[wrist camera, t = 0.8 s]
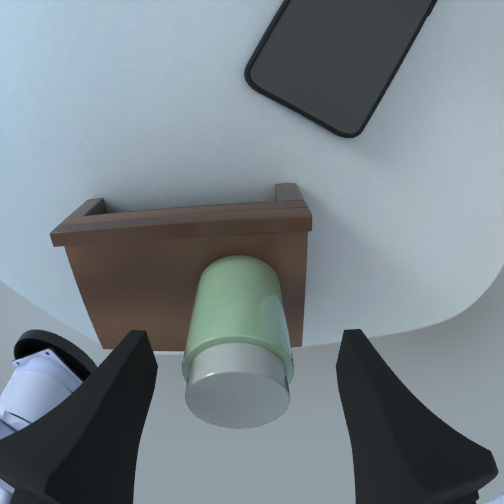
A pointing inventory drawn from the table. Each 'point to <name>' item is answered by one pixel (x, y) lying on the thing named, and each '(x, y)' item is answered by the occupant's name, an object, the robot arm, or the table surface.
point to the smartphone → (335, 57)
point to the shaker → (238, 345)
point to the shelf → (179, 261)
